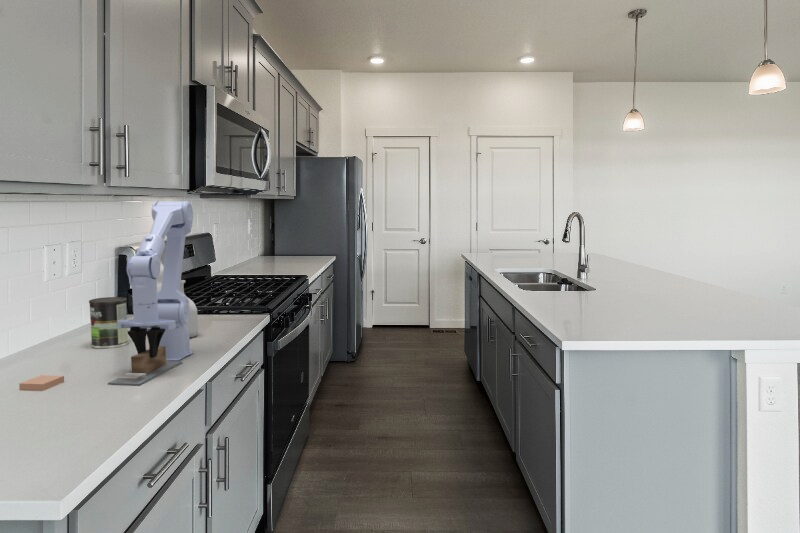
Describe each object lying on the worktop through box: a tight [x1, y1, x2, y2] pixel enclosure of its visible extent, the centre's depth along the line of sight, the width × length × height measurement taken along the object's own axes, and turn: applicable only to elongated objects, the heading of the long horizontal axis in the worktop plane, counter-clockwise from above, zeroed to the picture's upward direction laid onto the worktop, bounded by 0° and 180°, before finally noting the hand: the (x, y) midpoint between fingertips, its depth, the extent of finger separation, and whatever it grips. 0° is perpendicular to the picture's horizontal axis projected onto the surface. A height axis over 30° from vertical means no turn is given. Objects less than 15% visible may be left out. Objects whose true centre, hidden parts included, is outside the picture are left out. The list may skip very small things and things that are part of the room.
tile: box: [18, 374, 65, 392], centre depth 143 cm, size 2×6×7 cm
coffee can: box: [88, 296, 129, 349], centre depth 185 cm, size 10×10×14 cm
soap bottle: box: [180, 279, 199, 338], centre depth 195 cm, size 10×10×23 cm
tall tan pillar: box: [115, 346, 166, 382], centre depth 151 cm, size 16×5×5 cm, turn 173°
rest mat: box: [107, 360, 184, 386], centre depth 153 cm, size 21×8×1 cm, turn 173°
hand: (147, 356), depth 153 cm, fingers closed on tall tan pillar, 2 cm apart
